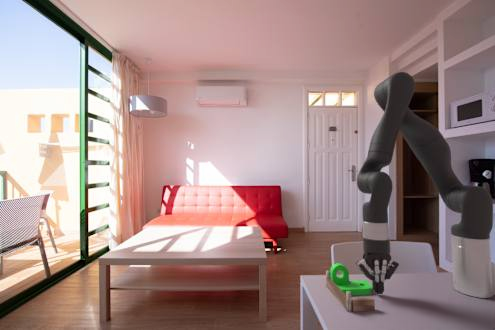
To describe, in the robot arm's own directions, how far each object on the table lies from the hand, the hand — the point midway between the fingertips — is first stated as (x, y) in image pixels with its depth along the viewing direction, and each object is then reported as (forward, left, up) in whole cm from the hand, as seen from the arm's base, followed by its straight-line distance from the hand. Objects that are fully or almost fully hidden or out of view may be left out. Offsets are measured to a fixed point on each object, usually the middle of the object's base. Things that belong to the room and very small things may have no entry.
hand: (378, 292), depth 77 cm
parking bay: (+10, 0, -1) cm, 10 cm away
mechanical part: (+6, -4, -1) cm, 8 cm away
